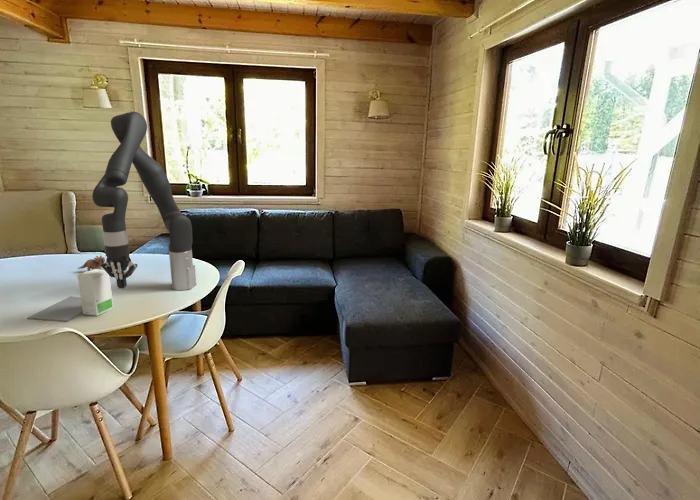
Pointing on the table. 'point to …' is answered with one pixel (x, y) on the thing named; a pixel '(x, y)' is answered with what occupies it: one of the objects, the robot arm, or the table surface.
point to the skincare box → (95, 292)
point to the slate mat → (60, 310)
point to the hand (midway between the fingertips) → (122, 287)
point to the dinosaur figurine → (94, 263)
